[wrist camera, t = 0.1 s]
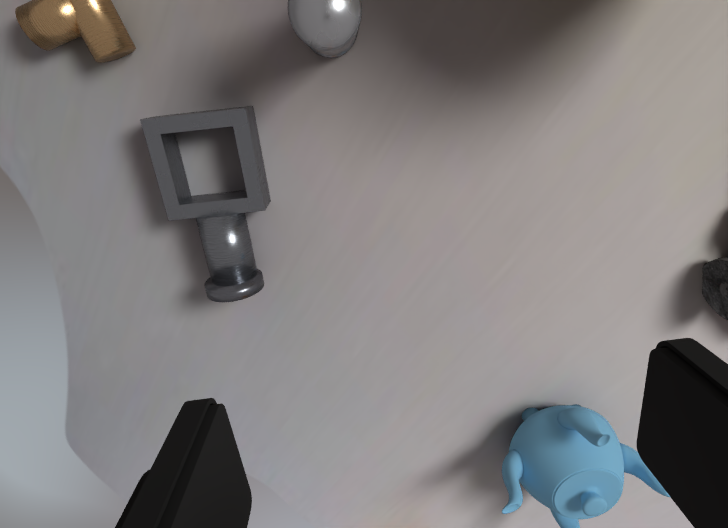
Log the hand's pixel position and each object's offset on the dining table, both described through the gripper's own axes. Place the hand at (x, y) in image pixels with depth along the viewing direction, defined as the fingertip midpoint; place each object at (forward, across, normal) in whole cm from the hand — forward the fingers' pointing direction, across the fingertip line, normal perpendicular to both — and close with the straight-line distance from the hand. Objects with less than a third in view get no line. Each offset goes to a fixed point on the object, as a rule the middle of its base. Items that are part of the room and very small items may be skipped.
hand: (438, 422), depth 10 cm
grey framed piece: (+31, +13, +1) cm, 34 cm away
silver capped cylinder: (+31, +2, -11) cm, 33 cm away
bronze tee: (+31, +20, -14) cm, 40 cm away
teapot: (+31, -17, +32) cm, 48 cm away
